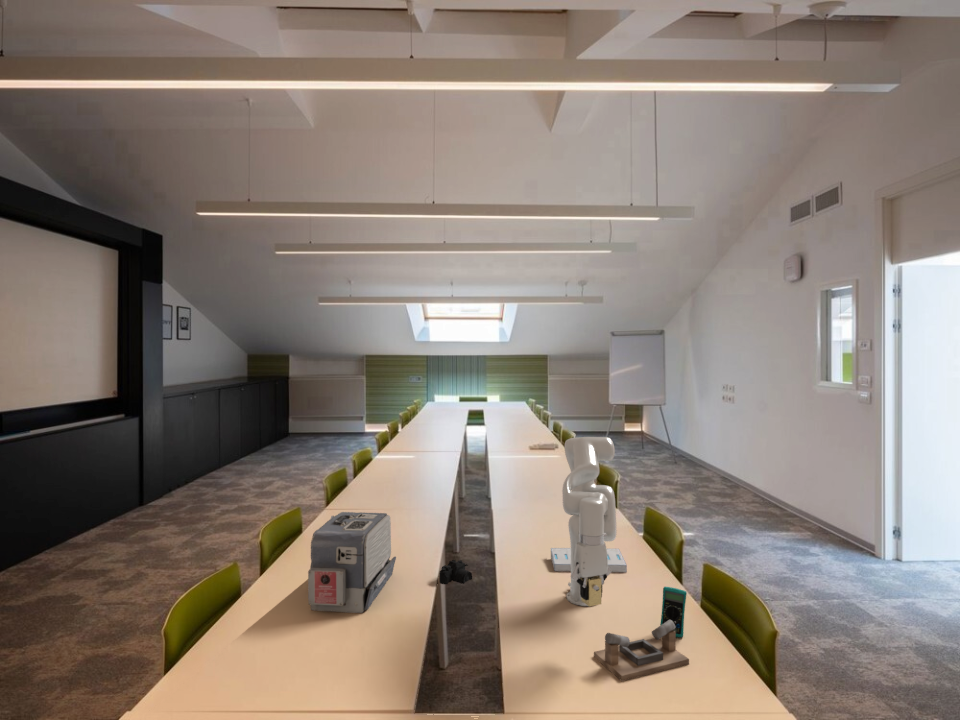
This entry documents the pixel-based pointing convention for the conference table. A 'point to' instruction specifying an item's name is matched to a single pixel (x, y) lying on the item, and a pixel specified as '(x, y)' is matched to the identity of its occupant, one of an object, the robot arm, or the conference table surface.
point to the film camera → (454, 573)
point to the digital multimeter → (674, 608)
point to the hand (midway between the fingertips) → (591, 596)
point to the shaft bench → (641, 653)
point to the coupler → (593, 591)
